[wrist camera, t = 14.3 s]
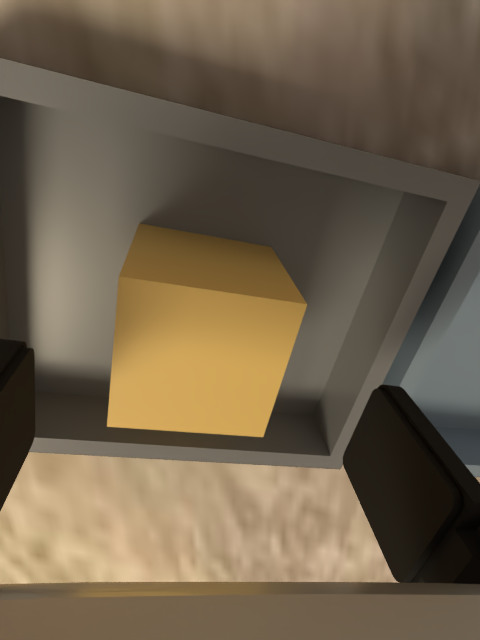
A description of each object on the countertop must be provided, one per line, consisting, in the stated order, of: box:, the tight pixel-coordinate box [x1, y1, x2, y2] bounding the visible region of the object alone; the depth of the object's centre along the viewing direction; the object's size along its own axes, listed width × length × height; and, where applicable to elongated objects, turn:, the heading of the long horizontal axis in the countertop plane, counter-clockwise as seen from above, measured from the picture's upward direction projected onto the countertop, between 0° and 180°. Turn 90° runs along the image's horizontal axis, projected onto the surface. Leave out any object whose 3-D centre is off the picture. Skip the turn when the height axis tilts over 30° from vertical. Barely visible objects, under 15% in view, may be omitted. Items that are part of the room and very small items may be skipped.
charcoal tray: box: [0, 58, 480, 469], centre depth 15 cm, size 13×16×3 cm
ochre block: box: [107, 223, 307, 437], centre depth 13 cm, size 5×5×5 cm
